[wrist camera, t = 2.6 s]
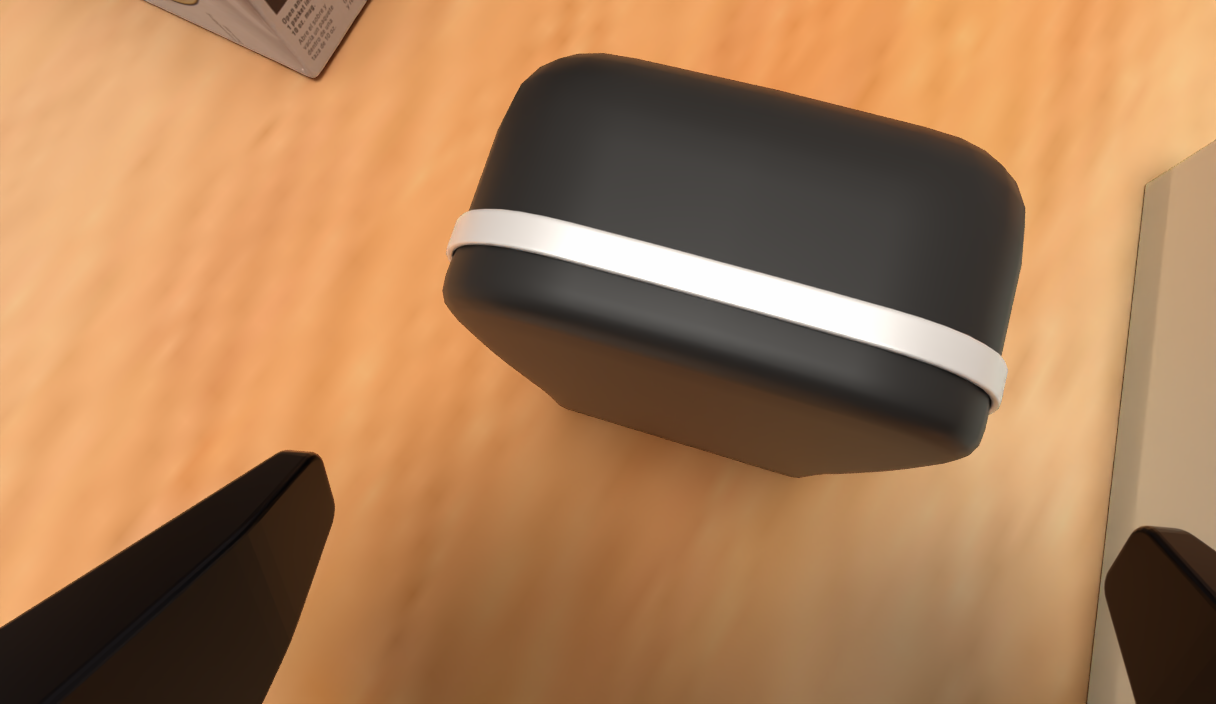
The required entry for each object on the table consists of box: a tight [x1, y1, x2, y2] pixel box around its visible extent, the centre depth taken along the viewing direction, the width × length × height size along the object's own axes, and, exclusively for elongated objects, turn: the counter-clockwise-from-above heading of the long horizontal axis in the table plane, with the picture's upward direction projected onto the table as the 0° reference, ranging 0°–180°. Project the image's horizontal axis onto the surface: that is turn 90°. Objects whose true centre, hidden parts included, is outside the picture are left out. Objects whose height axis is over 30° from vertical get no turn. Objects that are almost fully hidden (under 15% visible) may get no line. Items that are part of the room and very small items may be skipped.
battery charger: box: [443, 53, 1025, 478], centre depth 13 cm, size 7×4×11 cm, turn 73°
